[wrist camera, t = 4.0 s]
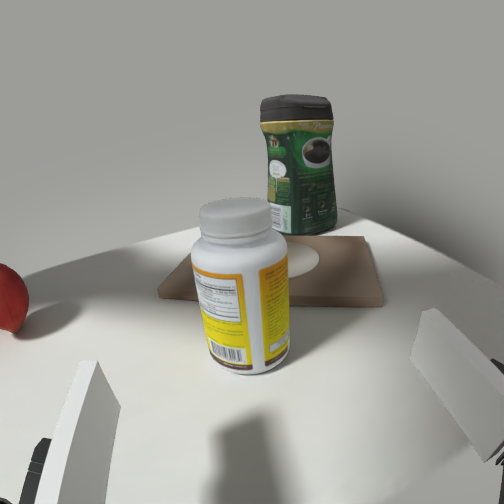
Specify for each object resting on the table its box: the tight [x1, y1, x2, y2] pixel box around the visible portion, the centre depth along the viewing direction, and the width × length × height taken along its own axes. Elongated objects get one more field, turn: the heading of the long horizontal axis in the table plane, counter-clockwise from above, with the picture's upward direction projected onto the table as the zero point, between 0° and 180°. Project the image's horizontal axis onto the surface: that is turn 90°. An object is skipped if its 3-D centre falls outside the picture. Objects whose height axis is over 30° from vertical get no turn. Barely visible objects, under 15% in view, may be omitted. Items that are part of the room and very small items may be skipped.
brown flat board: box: [158, 236, 383, 307], centre depth 32 cm, size 20×14×1 cm
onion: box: [0, 263, 29, 333], centre depth 22 cm, size 6×6×8 cm
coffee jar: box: [260, 95, 337, 236], centre depth 40 cm, size 10×8×19 cm
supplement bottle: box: [191, 197, 290, 374], centre depth 19 cm, size 6×6×10 cm
